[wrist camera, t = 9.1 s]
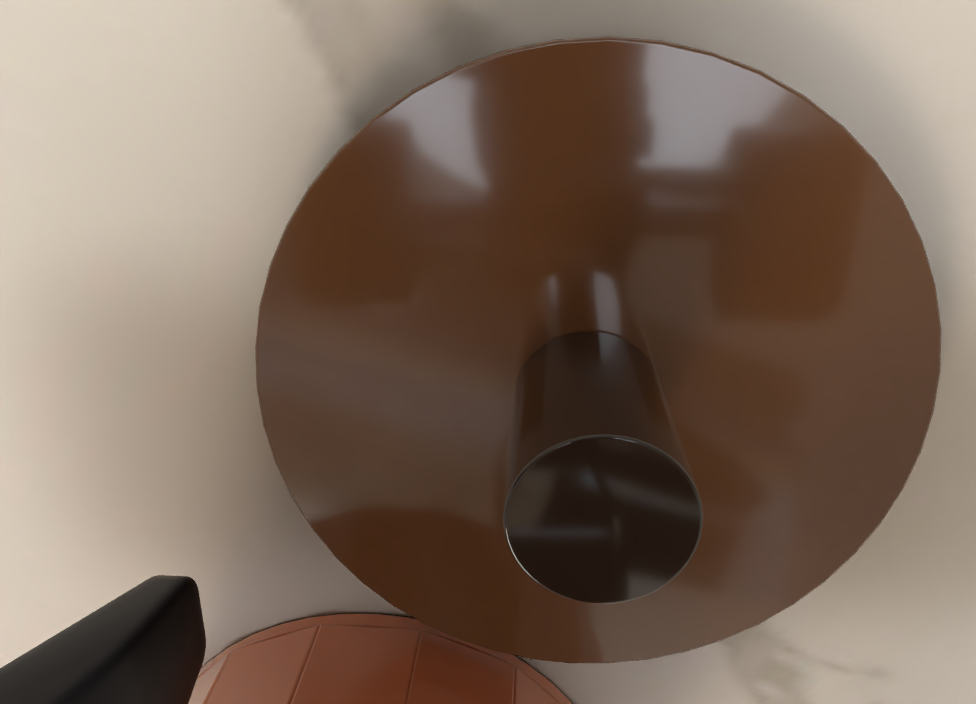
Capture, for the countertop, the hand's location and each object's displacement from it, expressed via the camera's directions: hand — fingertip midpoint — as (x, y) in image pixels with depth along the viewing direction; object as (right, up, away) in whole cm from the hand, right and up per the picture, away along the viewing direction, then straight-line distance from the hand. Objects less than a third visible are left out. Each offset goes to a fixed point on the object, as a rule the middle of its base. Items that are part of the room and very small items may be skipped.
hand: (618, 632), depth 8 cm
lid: (0, +2, +6) cm, 7 cm away
